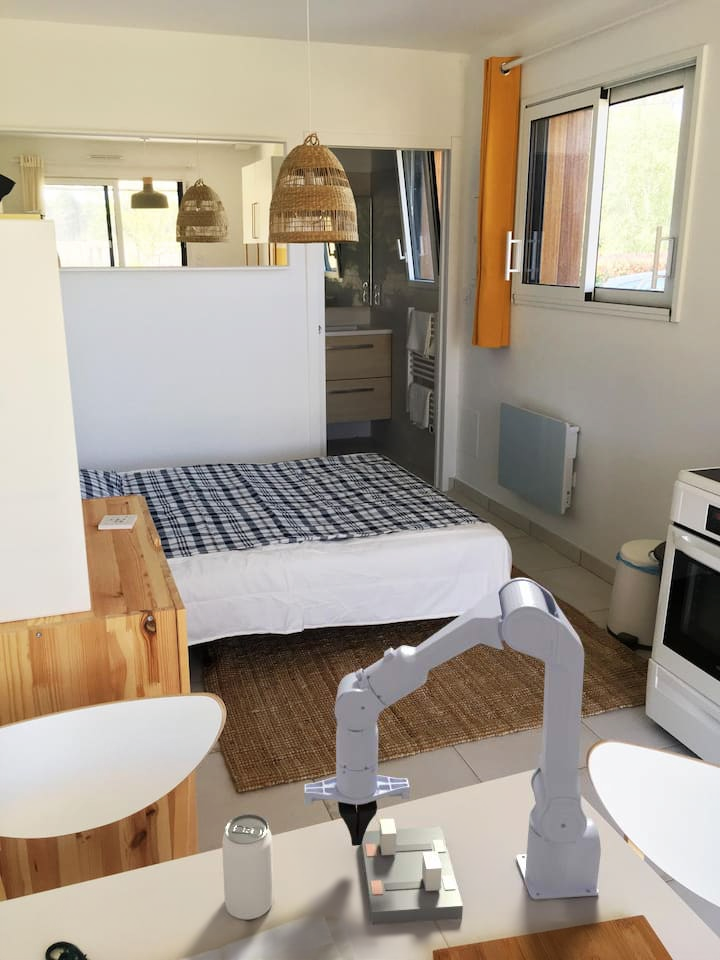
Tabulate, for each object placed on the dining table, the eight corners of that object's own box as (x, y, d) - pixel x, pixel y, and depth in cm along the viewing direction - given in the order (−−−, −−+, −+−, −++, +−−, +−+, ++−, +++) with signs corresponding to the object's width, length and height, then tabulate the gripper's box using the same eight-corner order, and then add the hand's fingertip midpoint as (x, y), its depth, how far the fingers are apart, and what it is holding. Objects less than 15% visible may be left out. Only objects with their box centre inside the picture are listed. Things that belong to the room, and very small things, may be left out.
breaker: (436, 873, 113) (437, 851, 112) (440, 890, 110) (441, 867, 109) (422, 874, 112) (422, 852, 111) (425, 890, 109) (426, 868, 108)
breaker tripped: (393, 839, 119) (393, 818, 118) (395, 854, 116) (396, 833, 115) (379, 840, 119) (379, 819, 118) (381, 855, 116) (382, 834, 115)
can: (265, 925, 107) (262, 849, 103) (217, 917, 108) (214, 841, 104) (279, 888, 113) (277, 815, 109) (234, 881, 114) (231, 808, 111)
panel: (440, 838, 123) (441, 826, 122) (462, 918, 108) (462, 905, 108) (360, 842, 121) (360, 830, 121) (371, 924, 107) (371, 911, 106)
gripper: (405, 738, 117) (402, 818, 121) (303, 743, 116) (304, 824, 119) (412, 769, 110) (410, 852, 114) (304, 774, 109) (305, 859, 113)
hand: (356, 840), depth 116 cm, fingers closed
